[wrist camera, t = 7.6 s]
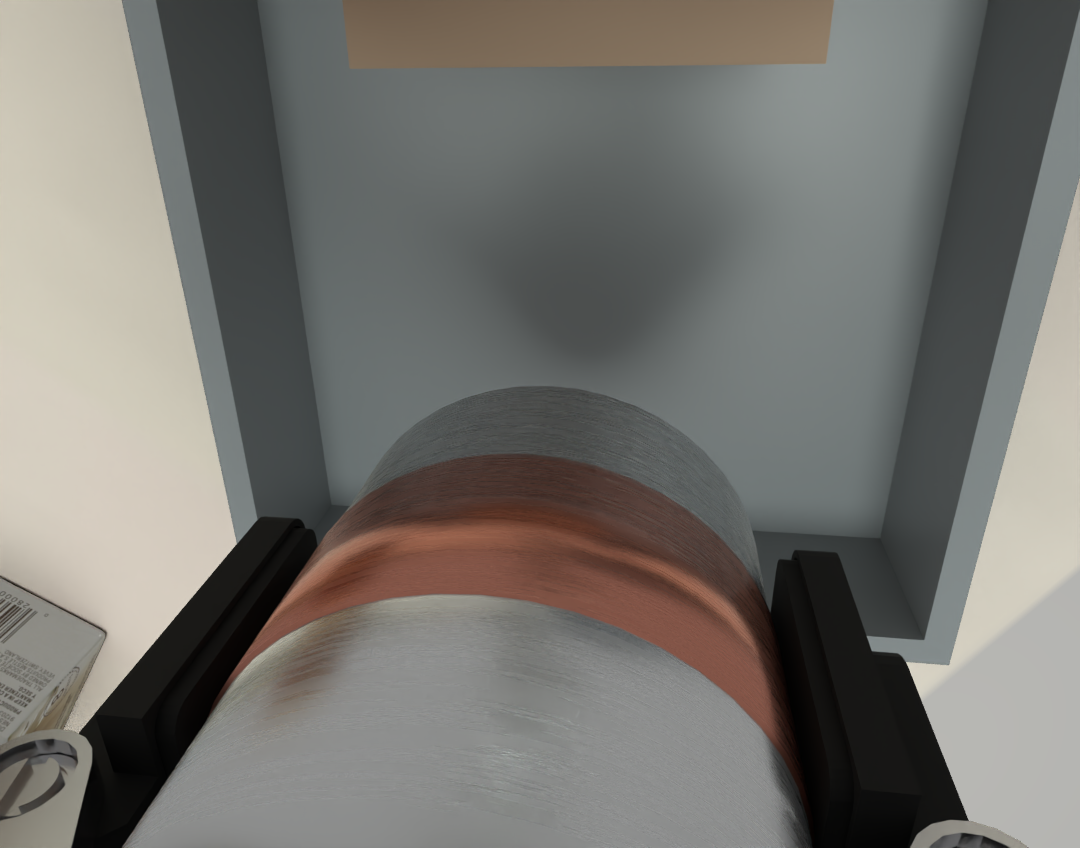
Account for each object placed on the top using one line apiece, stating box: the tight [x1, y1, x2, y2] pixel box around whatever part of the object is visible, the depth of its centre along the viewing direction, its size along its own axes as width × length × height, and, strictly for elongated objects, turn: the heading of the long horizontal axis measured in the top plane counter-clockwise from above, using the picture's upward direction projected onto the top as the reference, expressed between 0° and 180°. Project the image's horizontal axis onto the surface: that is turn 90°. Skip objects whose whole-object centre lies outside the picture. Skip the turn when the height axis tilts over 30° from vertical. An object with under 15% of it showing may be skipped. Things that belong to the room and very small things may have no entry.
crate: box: [122, 0, 1080, 665], centre depth 18 cm, size 22×18×5 cm
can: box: [122, 386, 815, 848], centre depth 10 cm, size 6×6×7 cm
